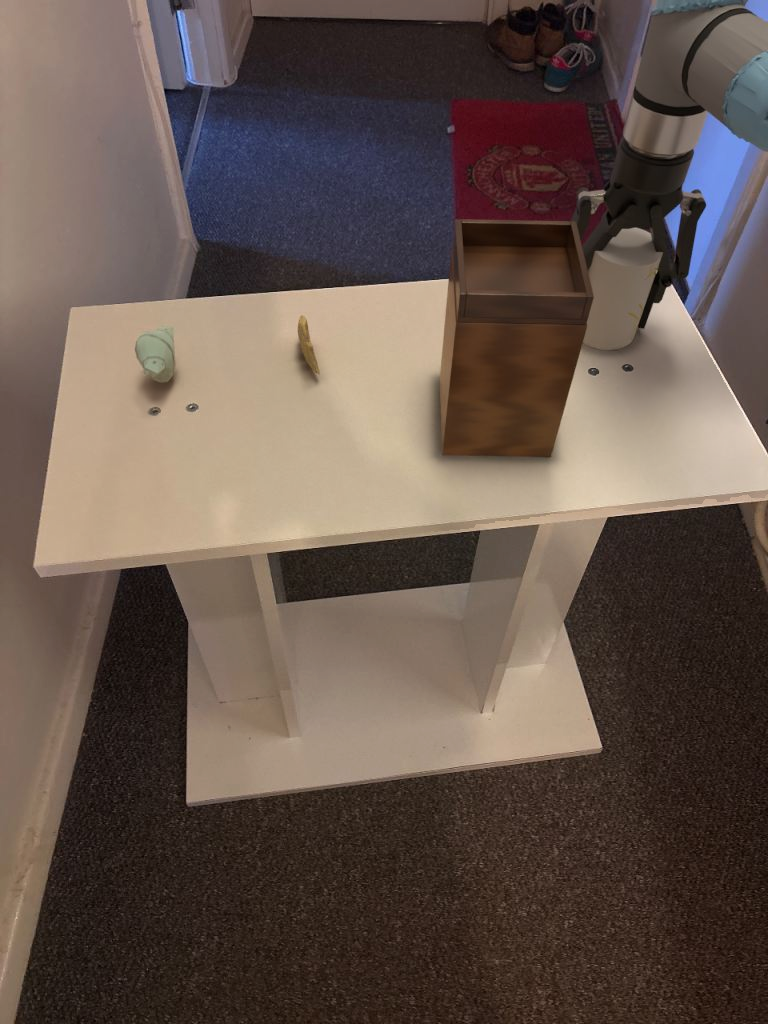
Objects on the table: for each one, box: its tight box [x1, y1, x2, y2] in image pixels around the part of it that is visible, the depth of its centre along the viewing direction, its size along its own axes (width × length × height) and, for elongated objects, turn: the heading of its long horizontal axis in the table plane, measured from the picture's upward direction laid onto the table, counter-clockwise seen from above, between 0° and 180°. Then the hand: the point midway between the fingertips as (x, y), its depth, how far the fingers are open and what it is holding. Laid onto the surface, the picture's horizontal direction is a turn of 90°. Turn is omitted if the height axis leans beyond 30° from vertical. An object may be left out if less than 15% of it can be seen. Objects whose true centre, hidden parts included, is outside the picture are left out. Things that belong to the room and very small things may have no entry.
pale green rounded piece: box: [134, 326, 176, 384], centre depth 87 cm, size 8×4×7 cm, turn 177°
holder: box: [452, 218, 594, 325], centre depth 71 cm, size 12×12×3 cm
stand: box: [439, 246, 587, 458], centre depth 79 cm, size 12×12×18 cm
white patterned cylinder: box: [582, 228, 663, 351], centre depth 91 cm, size 8×8×12 cm
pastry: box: [297, 315, 321, 376], centre depth 90 cm, size 9×2×5 cm, turn 17°
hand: (604, 320), depth 95 cm, fingers closed on white patterned cylinder, 8 cm apart
